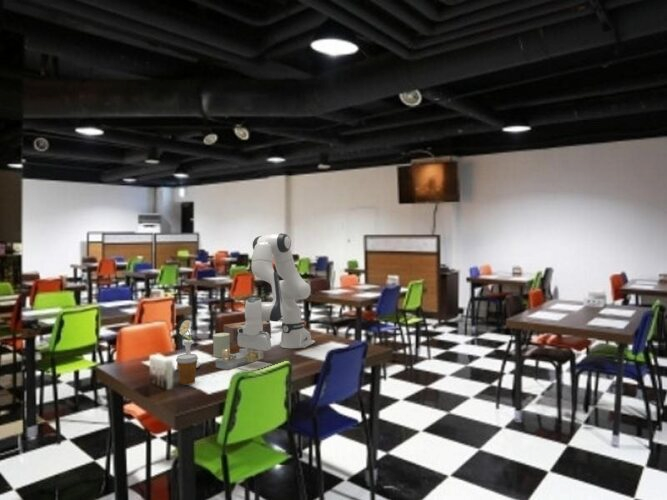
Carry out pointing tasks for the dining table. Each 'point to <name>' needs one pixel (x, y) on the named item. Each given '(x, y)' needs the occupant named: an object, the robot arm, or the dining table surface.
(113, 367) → the dining table surface
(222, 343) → the can
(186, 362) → the disposable coffee cup
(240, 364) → the hand plane
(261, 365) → the mat
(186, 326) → the flower in vase
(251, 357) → the lever cap
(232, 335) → the tissue box cover
